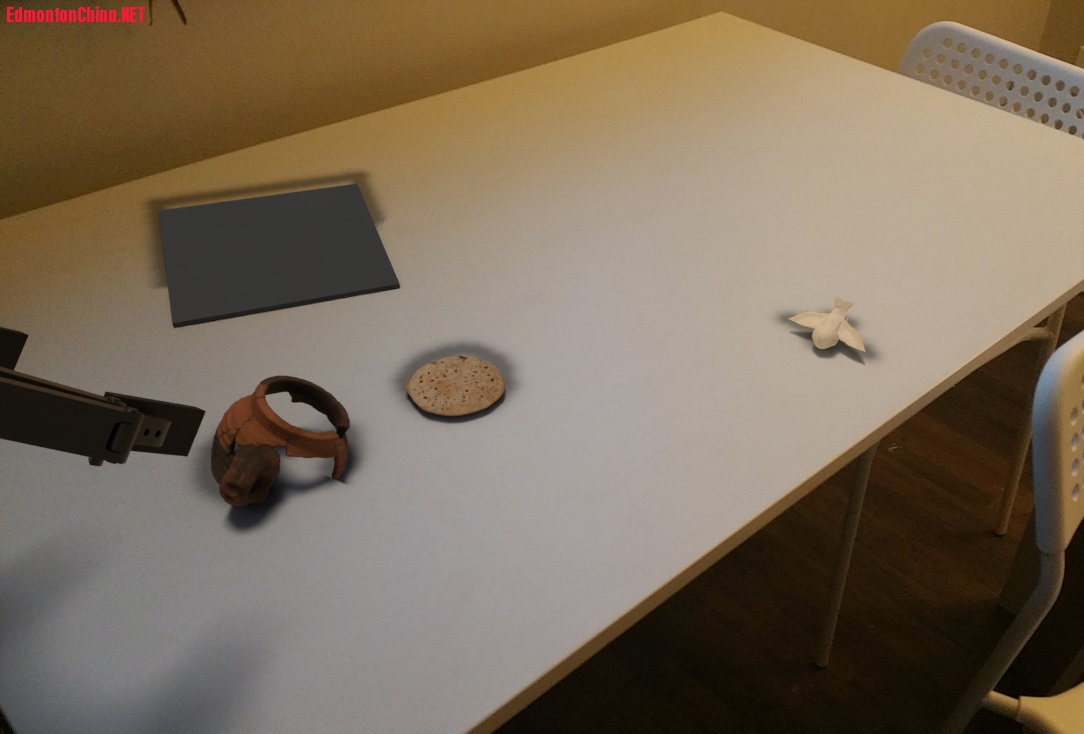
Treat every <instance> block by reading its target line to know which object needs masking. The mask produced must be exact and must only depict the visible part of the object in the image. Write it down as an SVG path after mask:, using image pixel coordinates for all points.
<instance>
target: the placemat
mask: <svg viewBox="0 0 1084 734" xmlns="http://www.w3.org/2000/svg"><path fill="white" fill-rule="evenodd" d="M157 216H158V224H159V231H160V239H161V247H162V253H163V262H164V269H165V276H166V277H165V278H166V284H167V292H168V293H167V294H168V298H169V300H168V301H169V307H170V315H171V322H172V326H173V328H178V327H183V326H190V325H195V324H200V323H207V322H212V321H218V320H224V319H230V318H234V317H240V316H247V315H251V314H257V313H258V314H259V313H262V312H270V311H274V310H279V309H280V310H281V309H285V308H292V307H297V306H302V305H308V304H314V303H319V302H320V303H321V302H325V301H326V302H327V301H332V300H338V299H343V298H348V297H353V296H354V297H355V296H360V295H365V294H371V293H378V292H383V291H388V290H395V289H399V288H401V285H400V281H399V279H398V277H397V274H396V272H395V269H394V267H393V265H392V262H391V260H390V258H389V256H388V253H387V251H386V248H385V246H384V243H383V240H382V239H381V237H380V234H379V232H378V229H377V227H376V225H375V222H374V220H373V217H372V216H371V213H370V210H369V208H368V206H367V204H366V201H365V199H364V196H363V194H362V191H361V190H360V187H359V185H358V183H350V184H344V185H343V184H342V185H336V186H329V187H328V186H327V187H320V188H314V189H313V188H312V189H307V190H306V189H305V190H299V191H298V190H297V191H292V192H284V193H278V194H269V195H262V196H255V197H247V198H240V199H239V198H238V199H233V200H226V201H225V200H224V201H218V202H217V201H216V202H211V203H210V202H209V203H204V204H203V203H202V204H195V205H188V206H181V207H175V208H174V207H173V208H167V209H159V210H157Z"/></svg>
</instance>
